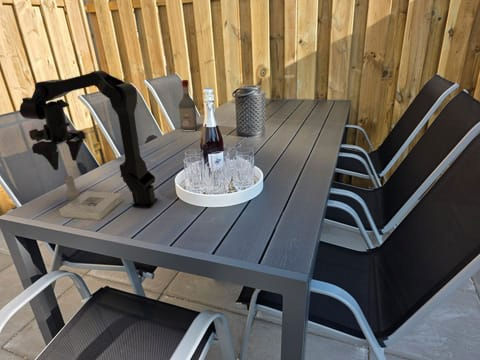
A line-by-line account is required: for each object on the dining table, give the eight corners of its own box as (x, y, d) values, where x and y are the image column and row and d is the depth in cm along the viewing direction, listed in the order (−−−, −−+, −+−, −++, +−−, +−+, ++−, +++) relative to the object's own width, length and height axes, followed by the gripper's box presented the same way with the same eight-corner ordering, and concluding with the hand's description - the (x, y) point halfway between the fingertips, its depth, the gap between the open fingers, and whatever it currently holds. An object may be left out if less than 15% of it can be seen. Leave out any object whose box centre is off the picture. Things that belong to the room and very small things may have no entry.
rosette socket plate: (123, 200, 113) (122, 193, 112) (100, 220, 100) (98, 213, 99) (88, 197, 116) (86, 191, 115) (61, 216, 103) (59, 209, 102)
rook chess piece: (77, 193, 118) (72, 173, 115) (83, 197, 116) (78, 176, 113) (64, 198, 115) (59, 177, 112) (70, 201, 113) (65, 180, 109)
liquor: (195, 131, 196) (191, 81, 183) (180, 132, 196) (175, 81, 184) (197, 128, 204) (193, 79, 192) (183, 128, 204) (178, 79, 192)
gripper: (54, 113, 114) (63, 154, 120) (10, 125, 97) (23, 173, 103) (82, 115, 112) (90, 156, 118) (42, 128, 95) (54, 176, 102)
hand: (65, 165), depth 110 cm, fingers open, 9 cm apart
